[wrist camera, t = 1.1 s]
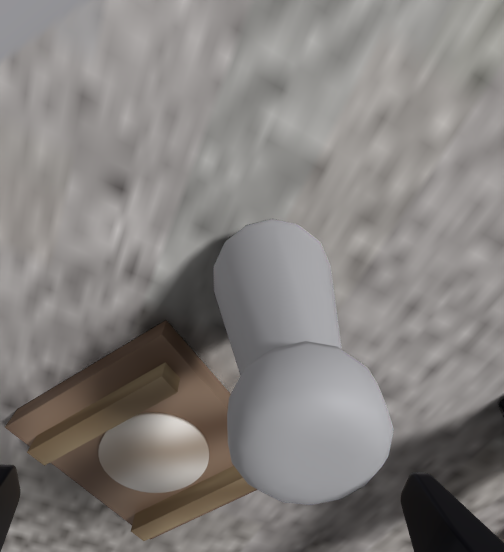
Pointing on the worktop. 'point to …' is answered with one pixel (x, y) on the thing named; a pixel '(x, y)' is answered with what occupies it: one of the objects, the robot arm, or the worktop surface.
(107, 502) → the stand
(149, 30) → the worktop surface
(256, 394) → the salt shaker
